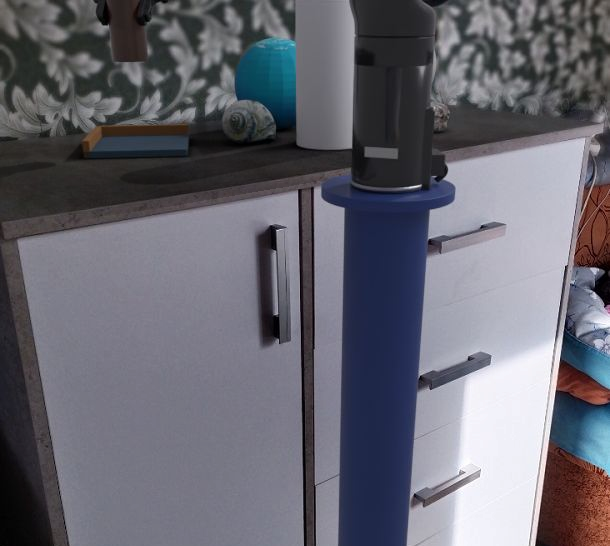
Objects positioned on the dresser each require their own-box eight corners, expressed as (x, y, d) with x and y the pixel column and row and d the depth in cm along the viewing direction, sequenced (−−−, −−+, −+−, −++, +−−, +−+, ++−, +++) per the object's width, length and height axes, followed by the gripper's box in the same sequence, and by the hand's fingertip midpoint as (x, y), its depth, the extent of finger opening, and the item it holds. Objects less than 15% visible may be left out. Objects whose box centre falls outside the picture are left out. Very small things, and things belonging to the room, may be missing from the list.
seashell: (283, 148, 128) (228, 157, 120) (256, 125, 131) (200, 131, 123) (295, 113, 124) (238, 120, 116) (266, 90, 127) (209, 95, 119)
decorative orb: (232, 124, 143) (229, 36, 136) (312, 121, 145) (312, 35, 138) (240, 136, 129) (236, 40, 123) (327, 134, 132) (327, 39, 125)
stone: (362, 129, 133) (404, 139, 127) (367, 94, 131) (410, 103, 124) (413, 130, 142) (455, 139, 135) (419, 97, 139) (461, 105, 132)
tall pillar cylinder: (376, 143, 123) (383, -33, 111) (330, 152, 116) (332, -35, 105) (328, 136, 129) (330, -31, 118) (282, 144, 123) (279, -33, 112)
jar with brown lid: (149, 59, 116) (141, -31, 111) (147, 62, 111) (138, -32, 106) (114, 59, 115) (105, -31, 110) (110, 62, 111) (100, -32, 105)
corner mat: (189, 139, 127) (188, 123, 126) (186, 156, 114) (185, 138, 113) (97, 141, 126) (95, 125, 125) (84, 158, 112) (81, 140, 111)
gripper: (87, -91, 112) (64, 1, 107) (182, -93, 110) (163, 1, 105) (105, -48, 119) (84, 40, 114) (194, -49, 117) (177, 41, 112)
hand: (122, 21), depth 109 cm, fingers closed on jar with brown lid, 5 cm apart
